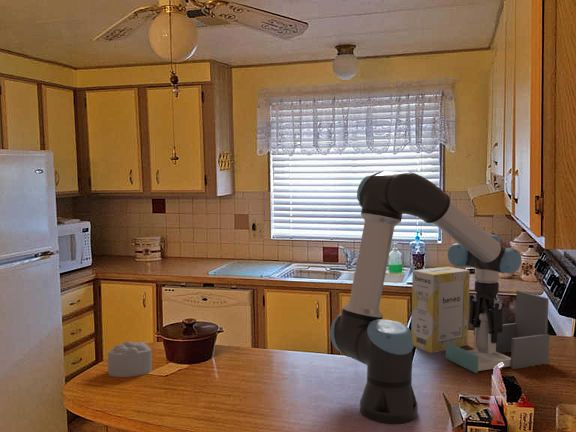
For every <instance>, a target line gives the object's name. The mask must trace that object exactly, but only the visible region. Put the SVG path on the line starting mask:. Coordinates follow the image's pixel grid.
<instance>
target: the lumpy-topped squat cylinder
mask: <svg viewBox="0 0 576 432" xmlns="http://www.w3.org/2000/svg"><path fill="white" fill-rule="evenodd" d="M152 358H153V357H152V348H151V347H150V346H149V345H148V343H144V342H143V341H137V342H133V341H130V340H128V341H124V342H123V343H120V344H117V345H115V346H114V347H113V348H111V349H109V350H108V351H107V375H108V376H110V377H113V378H114V377H115V378H131V377H137V376H143V375H146V374H150V373H151V372H152V369H153V366H152V365H153V364H152V362H153V361H152V360H153V359H152Z"/></svg>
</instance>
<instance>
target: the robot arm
mask: <svg viewBox="0 0 576 432" xmlns="http://www.w3.org/2000/svg"><path fill="white" fill-rule="evenodd" d="M356 191H357V192H356V198H357V201H358V202H359V203H358V204H359V206H360V208H361V211H360V215H361V217H362V218H363V221H364V225H363V229H362V230H363V231H362V235H361V239H360V245H359V250H358V256H357V260H356V267H355V271H354V276H353V281H352V285H351V291H350V295H349V300H348V301H349V302H348V303H347V304H346V305H344V306H343V307H342V311H341V313H340V314H338V315H337V316H336V317H335V319H333V320H332V323H331V325H330V331H329V335H330V341H331V343H332V345H333V347H334V348H335V349H336V350H337V351H338V352H340V353H341V354H342V355H344V356H345V357H348V358H351V359H353V360H355V361H358V362H359V363H362V364H364V365H366V369H367V371H366V384H365V386H364V389H363V392H362V395H361V398H360V400H359V411H360V413H361V414H362V415H363V417H366V418H367V419H370V420H371V421H375V422H379V423H382V424H383V423H384V424H405V423H409V422H411V421H414V420H415V419H416V418H417V417H418V412H419V411H418V409H419V407H418V406H419V405H418V401H417V398H416V395H415V393H414V389H413V385H412V381H413V380H412V379H413V378H412V375H413V355H414V353H413V351H414V346H413V342H412V333H411V329H410V328H409V327H408V326H407V325H405V324H404V323H403V322H400V321H399V322H398V321H395V320H390V319H384V315H383V314H382V312H381V311H380V305H381V298H382V295H383V289H384V283H385V278H386V275H387V269H388V268H387V267H388V264H389V258H390V251H391V247H392V243H393V242H392V241H393V236H394V232H395V227H396V226H398V225H399V224H401V222H402V218H403V215H409V216H414V217H416V218H418V219H421V220H422V221H423V222H424V223H427V224H433V225H435V226H436V228H438V229H439V230H441V231H442V232H444V233H445V234H446V235H448V236H449V237H450V238H451V239H452V240H454V241H455V242H456V243H453V244H451V245H450V246H449V247H448V249H447V259H448V262H449V263H450V264H451V265H452V267H455V268H458V267H461V268H464V267H471V268H474V279H475V281H474V292H475V293H476V294H471V295H469V301H470V305H469V306H470V307H469V320H468V323H469V324H471V325H472V327H473V337H474V342H473V343H474V344H473V346H474V348H477V346H476V341H477V337H478V333H479V328H480V324H481V320H480V319H479V315H480V314H481V313H487V317H488V323H489V329H490V332H488V353H493V352H496V343H497V334H498V333H502V331H503V330H502V324H503V309H504V305H505V304H504V302H500V301H498V298H497V295H498V293H499V292H500V290H499V289H500V283H499V282H498V281H500V273H501V274H510V275H511V274H515V273H517V272H518V270H520V266H521V264H522V255H521V253H520V251H519V250H517V249H515V248H511V247H505V246H504V245H503V244H502V243H501V239H500V236H499V235H498V234H492V233H488V232H487V231H486V230H484V228H482V227H481V226H480V225H478V224H477V222H475V221H474V220H473V219H471V218H470V217H469V216H468V215H467V214H465V213H464V212H463V211H462V210H460V209H459V208H458V207H457V206H456V205H455V204H453V203H452V202H451V201H452V200H451V197H450V196H449V194H448V193H447V192H445V191H444V190H443V189H442V188H441V187H439V186H437V185H436V184H435V183H433V182H432V181H431V180H429V179H427V178H426V177H424V176H421V175H420V174H417V173H415V172H411V171H384V170H383V171H377V172H372V173H370V174H367V175H366V176H365V177H364V178H362V180H361V181H360V183H359V186H358V187H357V190H356ZM493 329H494V330H493Z"/></svg>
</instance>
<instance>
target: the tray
mask: <svg viewBox="0 0 576 432" xmlns="http://www.w3.org/2000/svg"><path fill="white" fill-rule="evenodd" d="M445 359H447V360H449V361H450V362H453V363H455V364H457V365H458V366H461V367H462V368H465V369H466V370H468V371H471V372H473V373H475V374H478V372H480V371H487V370H493V367H494V366H495V365H497V364H498V363H500V362H503V363H504V364H505V366H504V367H503V368H508V367H511V356H507V355H505V354H504V353H498V352H493V353H481V352H479V350H478V348H477V349H468V350H466V349H464V348H462V347H458V346H455V345H453V344H451V343H449V342H446V350H445Z"/></svg>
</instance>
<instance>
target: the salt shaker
mask: <svg viewBox="0 0 576 432" xmlns="http://www.w3.org/2000/svg"><path fill="white" fill-rule="evenodd" d="M479 319H480V320H481V324H480V328H479V333H478V337H477V341H476V346H477V347H476V348H477V349H478V350H479V352H481V353H488V332H490V329H489V323H488V317H487V313H486V312H484V313H481V314H480V315H479Z"/></svg>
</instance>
